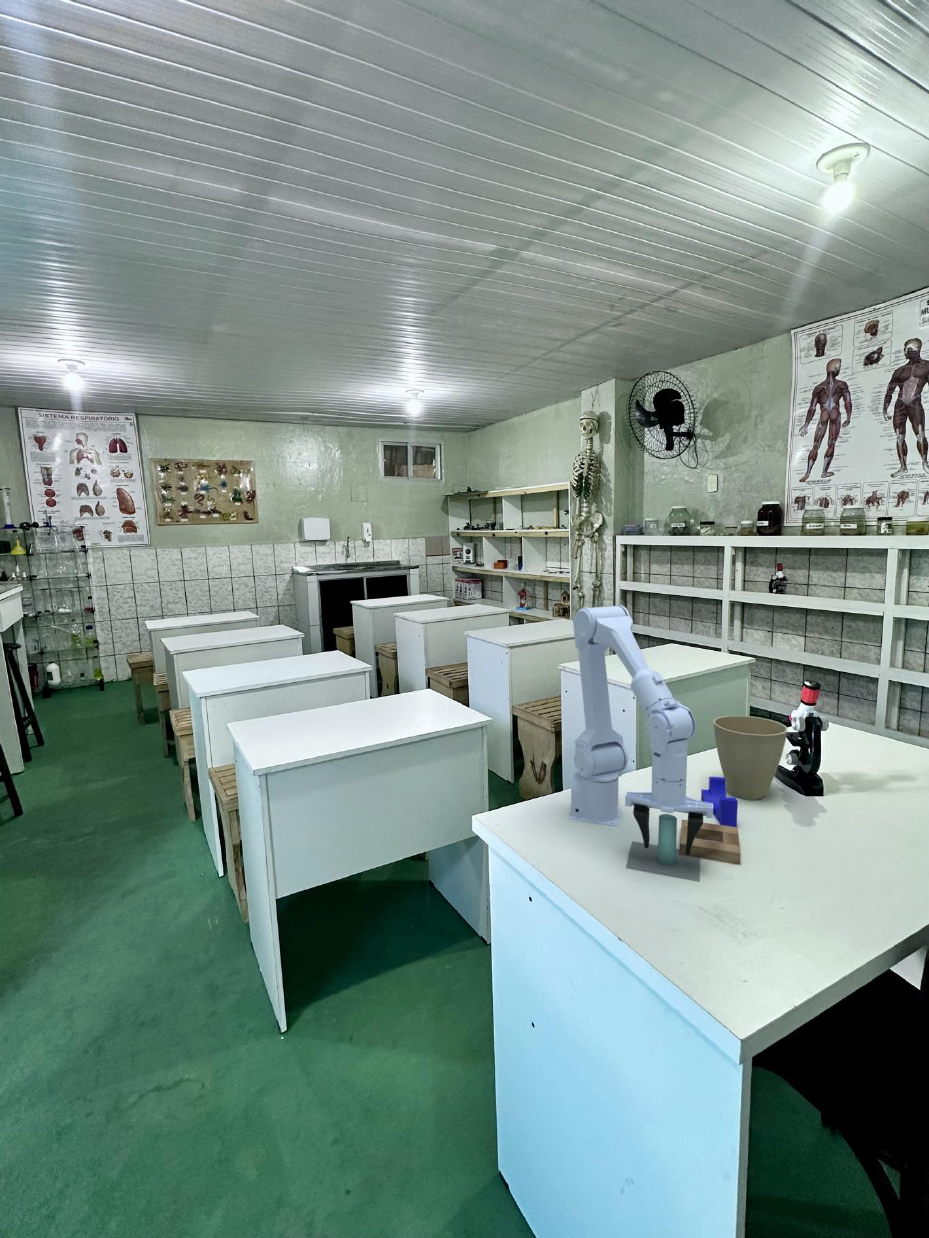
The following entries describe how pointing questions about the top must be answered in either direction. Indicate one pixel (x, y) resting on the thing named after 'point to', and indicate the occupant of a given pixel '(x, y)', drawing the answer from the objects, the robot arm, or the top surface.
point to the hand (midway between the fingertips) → (667, 848)
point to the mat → (649, 863)
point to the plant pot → (749, 753)
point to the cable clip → (721, 802)
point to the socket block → (713, 843)
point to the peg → (667, 839)
